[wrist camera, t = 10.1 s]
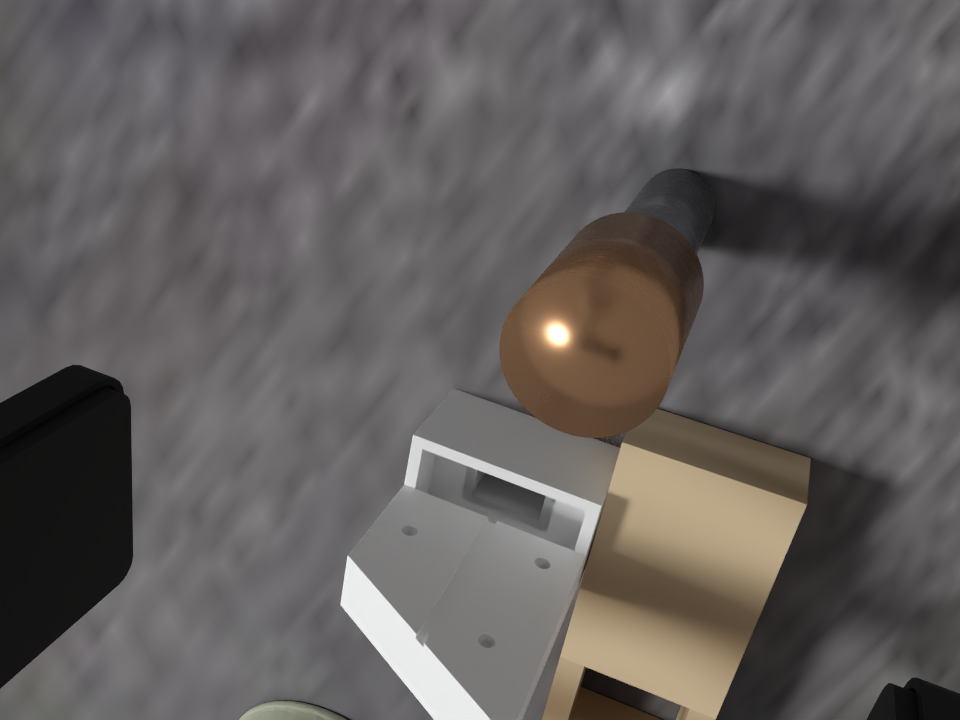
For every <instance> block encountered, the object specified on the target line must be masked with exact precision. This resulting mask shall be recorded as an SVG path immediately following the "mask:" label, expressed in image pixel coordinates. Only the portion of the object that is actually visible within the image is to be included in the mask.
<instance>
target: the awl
mask: <svg viewBox="0 0 960 720" xmlns="http://www.w3.org/2000/svg"><path fill="white" fill-rule="evenodd" d="M715 211H716V201H715V196H714V193H713V191H712V189H711V187H710V186H709V184H708V183H707V182H706V181H705V180H704V179H703V178H702V177H701V176H699V175H698V174H696V173H694V172H692V171H689V170H685V169H670V170H666V171H663V172H661V173H659V174H657V175H655V176H654V177H653V178H652V179H650V180H649V182H648V183H647V184H646V185H645V187H644V188H643V189H642V190H641V192H640V193H639V194H638V195H637V197H636V198H635V199H634V201H633V202H632V203H631V204H630V206H629V207H628V208H627V210H626V211H625V212H624V213H616V214H610V215H607V216H604V217H601V218H599V219H597V220H595V221H593V222H591V223H590V224H588V225H587V226H585V227H584V228H583V229H582V230H581V231H580V232H579V233H578V234H577V235H576V236H575V237H574V238H573V240H572V241H571V242H570V243H569V244H568V245H567V246H566V248H565V249H564V250H563V251H562V252H561V253H560V254H559V255H558V257H557V258H556V259H555V260H554V261H553V262H552V263H551V265H550V266H549V267H548V268H547V269H546V270H545V271H544V273H543V274H542V275H541V276H540V277H539V278H538V279H537V281H536V282H535V283H534V284H533V285H532V286H531V287H530V289H529V290H528V291H527V292H526V293H525V294H524V295H523V297H522V298H521V299H520V300H519V301H518V302H517V303H516V305H515V306H514V307H513V308H512V310H511V311H510V313H509V315H508V316H507V319H506V321H505V323H504V325H503V329H502V333H501V338H500V360H501V366H502V369H503V373H504V376H505V378H506V381H507V383H508V385H509V387H510V389H511V390H512V392H513V394H514V395H515V397H516V398H517V399H518V401H519V402H520V403H521V404H522V405H523V406H524V408H525V409H526V410H527V411H528V412H530V413H531V414H532V415H533V416H534V417H535V418H537V419H538V420H540V421H541V422H543V423H544V424H546V425H548V426H550V427H552V428H553V429H556V430H558V431H561V432H563V433H566V434H570V435H573V436H579V437H585V438H603V437H610V436H615V435H619V434H622V433H625V432H628V431H630V430H632V429H634V428H636V427H637V426H639V425H640V424H642V423H643V422H644V421H646V420H647V419H648V418H649V417H650V416H651V415H652V414H653V413H654V411H655V410H656V409H657V408H658V406H659V405H660V403H661V401H662V400H663V398H664V395H665V393H666V390H667V388H668V385H669V383H670V380H671V378H672V375H673V373H674V370H675V368H676V365H677V362H678V360H679V357H680V355H681V352H682V350H683V347H684V345H685V342H686V340H687V337H688V335H689V332H690V330H691V327H692V325H693V322H694V319H695V317H696V314H697V312H698V309H699V307H700V304H701V301H702V296H703V288H704V281H703V273H702V267H701V264H700V262H699V259H698V256H697V253H698V251H699V249H700V247H701V245H702V243H703V240H704V238H705V236H706V234H707V232H708V230H709V228H710V225H711V223H712V221H713V218H714V216H715Z"/></svg>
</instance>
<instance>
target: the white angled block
mask: <svg viewBox="0 0 960 720" xmlns="http://www.w3.org/2000/svg"><path fill="white" fill-rule="evenodd" d="M619 451H620V448H619V447H616V446H613V445H610V444H608V443H605V442H602V441H599V440H596V439H594V438H585V437H579V436H573V435H570V434H566V433H563V432H561V431H558V430H556V429H553V428H552V427H550V426H548V425H546V424H544V423H543V422H541V421H540V420H538V419H537V418H535V417H532V416H529V415H527V414H524V413H521V412H518V411H515V410H513V409H510V408H507V407H504V406H502V405H499V404H496V403H493V402H490V401H488V400H485V399H482V398H479V397H476V396H474V395H471V394H468V393H465V392H463V391H460V390H457V389H454V388H453V389H452V390H451V391H450V393H449V394H448V395H447V396H446V397H445V398H444V399H443V401H442V402H441V403H440V404H439V405H438V406H437V408H436V409H435V410H434V411H433V412H432V413H431V415H430V416H429V417H428V418H427V419H426V420H425V422H424V423H423V424H422V425H421V426H420V427H419V429H418V430H417V431H416V432H415V433H414V434H413V438H412V444H411V449H410V455H409V461H408V466H407V472H406V477H405V483H404V485H403V487H402V488H401V489H400V490H399V492H398V493H397V494H396V495H395V497H394V498H393V499H392V500H391V502H390V503H389V504H388V505H387V507H386V508H385V509H384V510H383V512H382V513H381V514H380V515H379V517H378V518H377V519H376V520H375V522H374V523H373V524H372V525H371V527H370V528H369V529H368V530H367V532H366V533H365V534H364V535H363V537H362V538H361V539H360V540H359V542H358V543H357V544H356V545H355V547H354V548H353V549H352V550H351V552H350V553H349V554H348V557H347V564H346V571H345V577H344V584H343V591H342V598H341V606H342V607H343V608H344V610H345V611H346V612H347V613H348V615H349V616H350V617H351V618H352V619H353V621H354V622H355V623H356V624H357V626H358V627H359V628H360V629H361V631H362V632H363V633H364V634H365V635H366V637H367V638H368V639H369V640H370V642H371V643H372V644H373V645H374V646H375V648H376V649H377V650H378V651H379V653H380V654H381V655H382V656H383V657H384V659H385V660H386V661H387V662H388V664H389V665H390V666H391V667H392V669H393V670H394V671H395V672H396V673H397V675H398V676H399V677H400V678H401V680H402V681H403V682H404V683H405V684H406V686H407V687H408V688H409V689H410V691H411V692H412V693H413V694H414V696H415V697H416V698H417V699H418V700H419V702H420V703H421V704H422V705H423V707H424V708H425V709H426V710H427V711H428V713H429V714H430V715H431V716H432V718H433V719H434V720H522V719H523V716H524V714H525V712H526V709H527V707H528V704H529V702H530V700H531V697H532V695H533V692H534V690H535V688H536V685H537V683H538V680H539V678H540V676H541V673H542V671H543V668H544V666H545V664H546V661H547V659H548V656H549V654H550V652H551V649H552V647H553V644H554V642H555V640H556V637H557V635H558V632H559V630H560V628H561V625H562V623H563V620H564V618H565V616H566V613H567V611H568V608H569V606H570V604H571V601H572V599H573V596H574V594H575V592H576V589H577V587H578V584H579V582H580V580H581V577H582V575H583V572H584V570H585V568H586V565H587V562H588V559H589V555H590V552H591V548H592V545H593V542H594V538H595V535H596V531H597V528H598V524H599V521H600V517H601V514H602V510H603V507H604V503H605V500H606V496H607V493H608V490H609V486H610V483H611V479H612V476H613V472H614V469H615V465H616V462H617V458H618V455H619Z"/></svg>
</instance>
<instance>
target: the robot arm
mask: <svg viewBox="0 0 960 720" xmlns="http://www.w3.org/2000/svg"><path fill="white" fill-rule="evenodd" d="M132 559H133V523H132V456H131V405H130V400H129V398H128V396H126V395H125V394H124V392H123V387H122V385H121V383H120V381H118V380H117V379H115V378H113V377H110V376H107V375H105V374H102V373H99V372H97V371H94V370H91V369H89V368H86V367H83V366H81V365H72V366H69V367H66V368H64V369H62V370H60V371H58V372H57V373H55V374H53V375H51V376H49V377H47V378H46V379H44V380H42V381H40V382H38V383H36V384H34V385H33V386H31V387H29V388H27V389H25V390H23V391H22V392H20V393H18V394H16V395H14V396H12V397H10V398H9V399H7V400H5V401H3V402H1V403H0V688H1V687H3V686H4V685H5V684H6V683H7V682H8V681H9V680H11V679H12V678H13V677H14V676H15V675H16V674H17V673H19V672H20V671H21V670H22V669H23V668H24V667H25V666H26V665H28V664H29V663H30V662H31V661H32V660H33V659H34V658H36V657H37V656H38V655H39V654H40V653H41V652H42V651H44V650H45V649H46V648H47V647H48V646H49V645H50V644H52V643H53V642H54V641H55V640H56V639H57V638H58V637H60V636H61V635H62V634H63V633H64V632H65V631H66V630H68V629H69V628H70V627H71V626H72V625H73V624H74V623H76V622H77V621H78V620H79V619H80V618H81V617H82V616H83V615H85V614H86V613H87V612H88V611H89V610H90V609H91V608H93V607H94V606H95V605H96V604H97V603H98V602H99V601H101V600H102V599H103V598H104V597H105V596H106V595H107V594H109V593H110V592H111V591H112V590H113V589H114V588H115V587H117V586H118V585H119V584H120V583H121V582H122V580H123V579H124V578H125V576H126V575H127V573H128V571H129V569H130V567H131V563H132ZM867 720H960V694H959V693H956V692H954V691H951V690H948V689H945V688H943V687H940V686H937V685H935V684H932V683H929V682H927V681H924V680H921V679H919V678H912V679H910V680H909V681H908V682H907V684H906V685H905V687H904V688H902V687H899V686H897V685H894V684H891V683H888V684H887V685H886V686H885V687H884V689H883V690H882V692H881V694H880V696H879V697H878V699H877V701H876V703H875V705H874V707H873V709H872V711H871V712H870V714H869V716H868V718H867Z"/></svg>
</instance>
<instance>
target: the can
mask: <svg viewBox="0 0 960 720" xmlns="http://www.w3.org/2000/svg"><path fill="white" fill-rule="evenodd" d="M239 720H347V719H345V718H343V717H342V716H339V715H337V714H335V713H333V712H331V711H328V710H326V709H323V708H321V707H318V706H314V705H310V704H306V703H302V702H295V701H273V702H268V703H264V704H261V705H258V706H256V707H254V708H252V709H250V710H249V711H247V712H246V713H245V714H244V715H243V716H242V717H241V718H240V719H239Z"/></svg>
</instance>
